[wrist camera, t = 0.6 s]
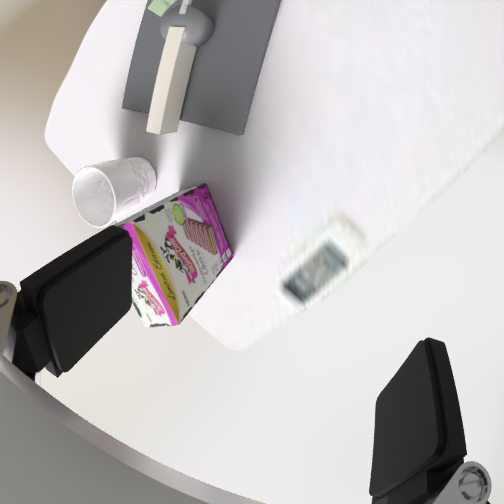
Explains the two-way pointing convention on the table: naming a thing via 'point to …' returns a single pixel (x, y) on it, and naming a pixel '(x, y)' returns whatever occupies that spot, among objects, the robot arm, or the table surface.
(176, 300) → the candy bar box
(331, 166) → the table surface
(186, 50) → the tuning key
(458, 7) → the table surface
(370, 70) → the table surface
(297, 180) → the table surface
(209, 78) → the tuner board
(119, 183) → the white cup
